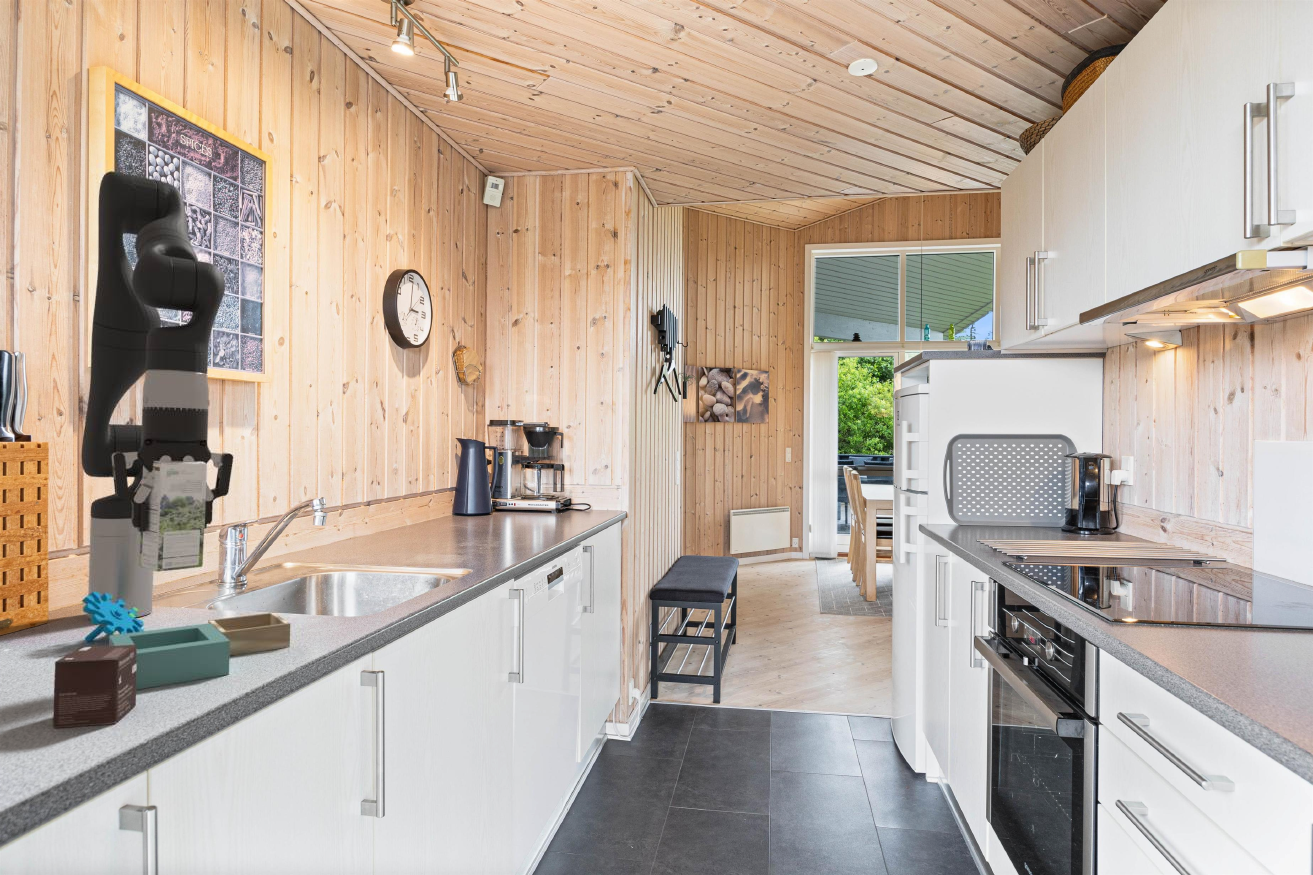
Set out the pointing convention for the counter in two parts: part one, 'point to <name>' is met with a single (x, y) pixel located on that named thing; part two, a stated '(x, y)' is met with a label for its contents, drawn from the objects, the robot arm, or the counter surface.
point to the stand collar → (254, 632)
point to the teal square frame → (177, 654)
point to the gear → (110, 616)
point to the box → (94, 686)
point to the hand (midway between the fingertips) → (172, 529)
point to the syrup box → (174, 517)
